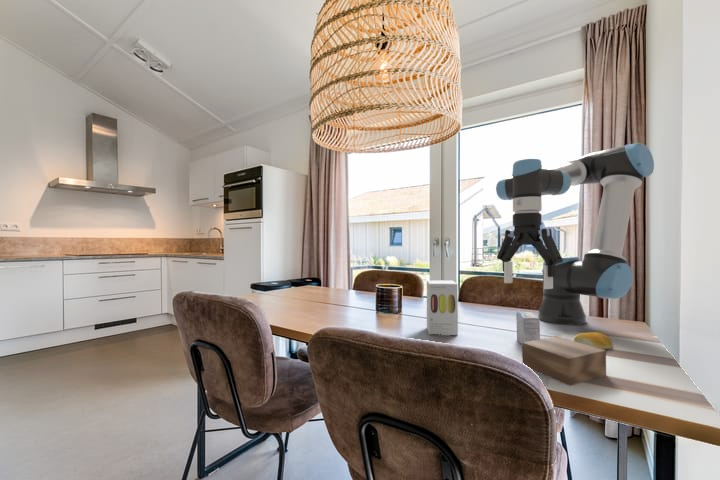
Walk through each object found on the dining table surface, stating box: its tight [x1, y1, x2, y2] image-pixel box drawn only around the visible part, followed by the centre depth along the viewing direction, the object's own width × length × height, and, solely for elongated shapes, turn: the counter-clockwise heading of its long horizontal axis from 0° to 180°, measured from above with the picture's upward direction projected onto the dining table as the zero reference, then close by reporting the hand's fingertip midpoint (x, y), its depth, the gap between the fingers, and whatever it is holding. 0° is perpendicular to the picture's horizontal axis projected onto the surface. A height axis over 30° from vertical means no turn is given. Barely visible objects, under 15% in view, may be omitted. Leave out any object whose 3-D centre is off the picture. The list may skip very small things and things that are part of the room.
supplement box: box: [426, 279, 459, 336], centre depth 113 cm, size 10×9×17 cm
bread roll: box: [573, 331, 613, 350], centre depth 96 cm, size 8×9×4 cm
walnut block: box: [521, 335, 607, 387], centre depth 79 cm, size 12×12×6 cm
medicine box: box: [516, 311, 541, 345], centre depth 98 cm, size 8×4×9 cm, turn 168°
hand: (527, 285), depth 98 cm, fingers open, 13 cm apart
